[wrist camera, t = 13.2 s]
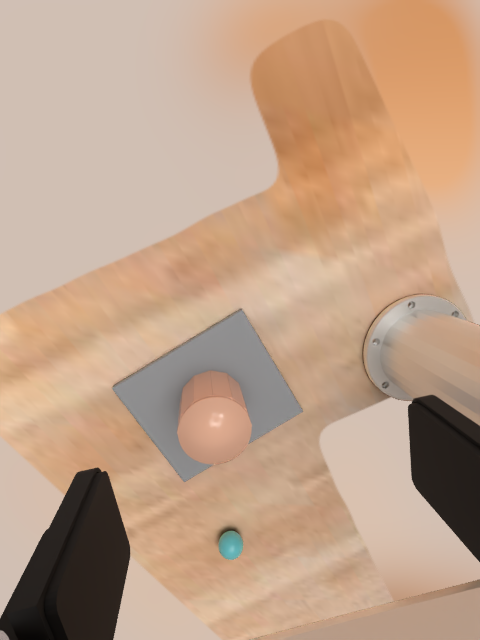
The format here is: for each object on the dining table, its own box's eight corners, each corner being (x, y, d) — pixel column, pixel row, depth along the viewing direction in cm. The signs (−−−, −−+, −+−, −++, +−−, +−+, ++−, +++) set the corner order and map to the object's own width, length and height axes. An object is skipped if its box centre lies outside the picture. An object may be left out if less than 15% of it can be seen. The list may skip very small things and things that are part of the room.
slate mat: (241, 308, 38) (242, 310, 37) (301, 408, 42) (303, 411, 41) (113, 385, 38) (112, 388, 37) (184, 477, 42) (184, 482, 41)
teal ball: (243, 525, 44) (247, 546, 42) (238, 545, 45) (241, 567, 42) (220, 523, 44) (222, 544, 41) (215, 543, 45) (216, 565, 42)
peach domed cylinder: (248, 376, 39) (259, 404, 33) (235, 431, 40) (242, 468, 34) (187, 366, 38) (185, 392, 32) (175, 423, 39) (171, 459, 33)
